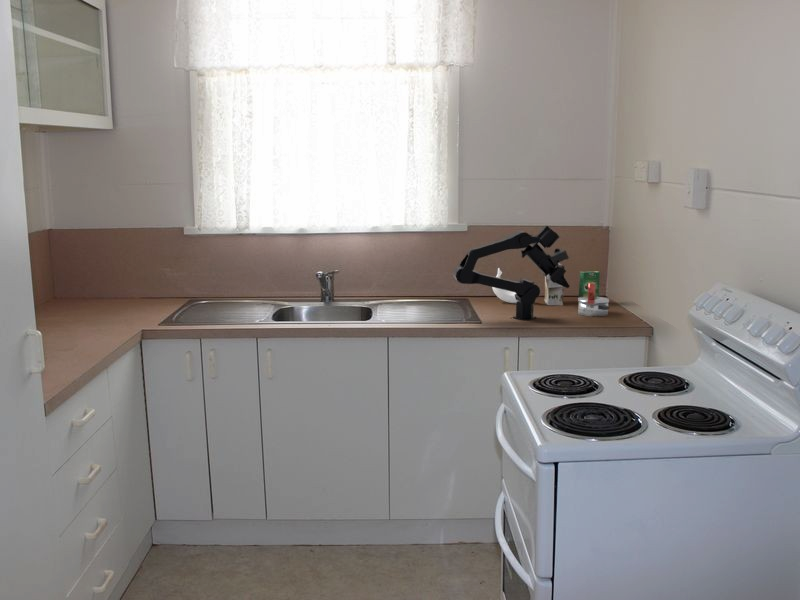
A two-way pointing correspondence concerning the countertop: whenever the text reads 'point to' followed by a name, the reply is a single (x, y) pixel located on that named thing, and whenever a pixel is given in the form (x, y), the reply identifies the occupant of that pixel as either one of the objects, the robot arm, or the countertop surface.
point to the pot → (593, 309)
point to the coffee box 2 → (589, 278)
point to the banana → (504, 292)
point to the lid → (592, 296)
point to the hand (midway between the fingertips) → (568, 287)
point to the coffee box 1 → (553, 291)
